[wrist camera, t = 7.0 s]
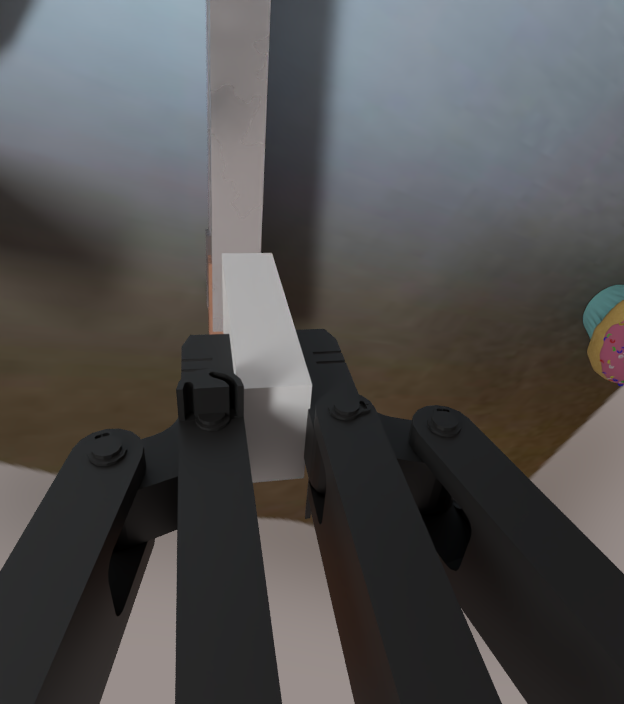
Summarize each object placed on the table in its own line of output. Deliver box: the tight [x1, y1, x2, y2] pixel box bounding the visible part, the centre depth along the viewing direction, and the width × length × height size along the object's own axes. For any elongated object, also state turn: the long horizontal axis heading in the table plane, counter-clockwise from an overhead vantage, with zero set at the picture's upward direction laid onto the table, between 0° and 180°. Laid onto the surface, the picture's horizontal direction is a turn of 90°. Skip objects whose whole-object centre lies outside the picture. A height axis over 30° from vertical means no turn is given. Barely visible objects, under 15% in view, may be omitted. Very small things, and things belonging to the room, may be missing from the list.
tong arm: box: [208, 0, 271, 335], centre depth 28 cm, size 3×27×2 cm, turn 175°
